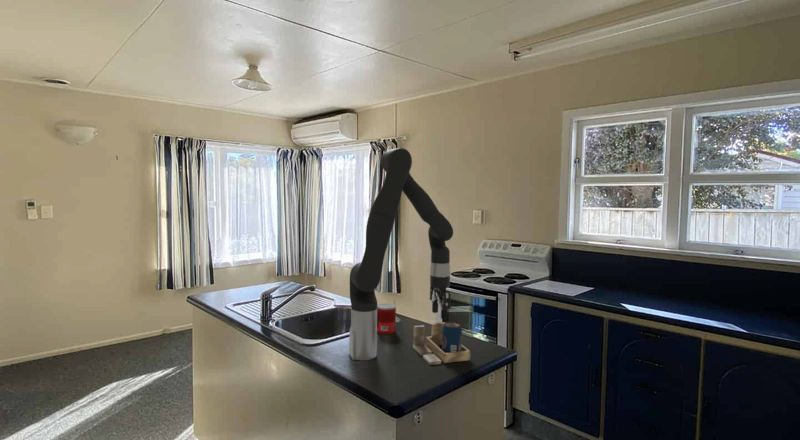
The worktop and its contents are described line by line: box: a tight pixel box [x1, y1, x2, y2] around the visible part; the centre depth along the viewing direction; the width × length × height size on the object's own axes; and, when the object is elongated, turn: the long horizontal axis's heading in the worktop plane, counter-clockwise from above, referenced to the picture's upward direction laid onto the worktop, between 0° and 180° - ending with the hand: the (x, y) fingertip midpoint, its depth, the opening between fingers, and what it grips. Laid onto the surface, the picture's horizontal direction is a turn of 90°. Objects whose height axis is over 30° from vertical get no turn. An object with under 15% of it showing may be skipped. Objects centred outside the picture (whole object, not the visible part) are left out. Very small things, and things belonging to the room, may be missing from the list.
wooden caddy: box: [424, 321, 471, 364], centre depth 153 cm, size 10×17×8 cm, turn 18°
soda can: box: [441, 321, 463, 353], centre depth 149 cm, size 7×7×12 cm
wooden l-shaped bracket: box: [412, 324, 442, 366], centre depth 151 cm, size 4×17×8 cm, turn 18°
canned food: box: [377, 302, 397, 335], centre depth 175 cm, size 8×8×11 cm
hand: (439, 315), depth 160 cm, fingers open, 8 cm apart
